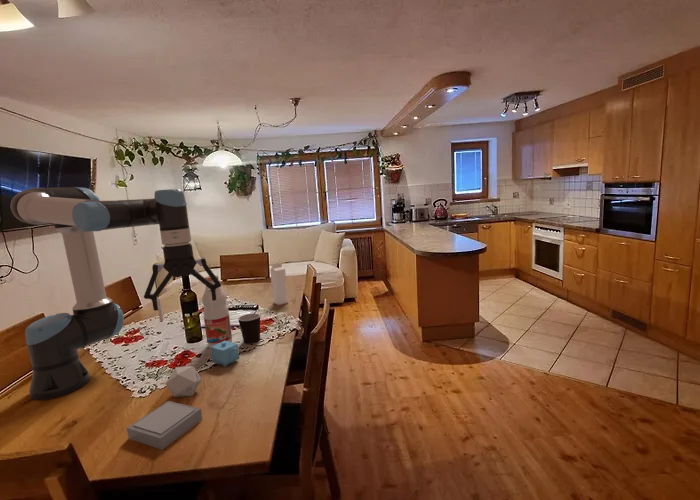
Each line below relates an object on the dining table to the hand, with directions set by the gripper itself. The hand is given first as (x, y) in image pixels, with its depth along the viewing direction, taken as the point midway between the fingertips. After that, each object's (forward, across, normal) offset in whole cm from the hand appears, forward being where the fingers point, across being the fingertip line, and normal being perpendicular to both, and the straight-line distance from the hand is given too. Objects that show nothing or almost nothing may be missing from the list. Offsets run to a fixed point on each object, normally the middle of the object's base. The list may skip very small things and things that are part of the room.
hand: (187, 315), depth 104 cm
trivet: (+24, -8, -15) cm, 30 cm away
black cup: (+24, +21, +33) cm, 46 cm away
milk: (+24, +42, +78) cm, 92 cm away
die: (+24, -4, +1) cm, 24 cm away
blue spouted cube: (+24, +10, +16) cm, 30 cm away
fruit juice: (+24, +8, +35) cm, 43 cm away
